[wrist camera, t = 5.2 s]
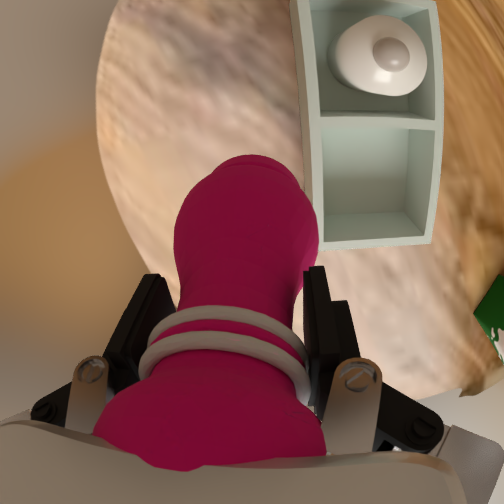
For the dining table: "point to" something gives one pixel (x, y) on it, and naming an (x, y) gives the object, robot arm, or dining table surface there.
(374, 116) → the grey divided tray
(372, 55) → the salt cellar
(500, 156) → the dining table surface
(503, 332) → the milk carton
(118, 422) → the pepper mill
